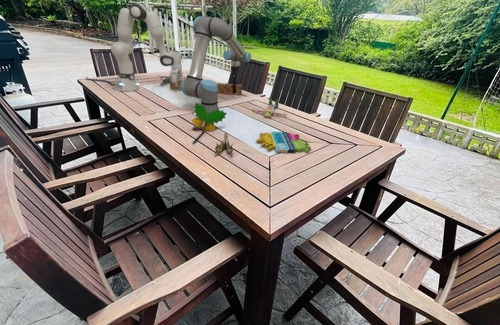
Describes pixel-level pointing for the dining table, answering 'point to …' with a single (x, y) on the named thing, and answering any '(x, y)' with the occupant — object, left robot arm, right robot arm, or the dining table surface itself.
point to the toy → (270, 109)
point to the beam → (221, 86)
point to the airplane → (166, 79)
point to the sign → (283, 142)
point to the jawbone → (224, 145)
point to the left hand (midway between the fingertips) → (177, 85)
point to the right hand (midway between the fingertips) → (234, 92)
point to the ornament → (207, 117)
